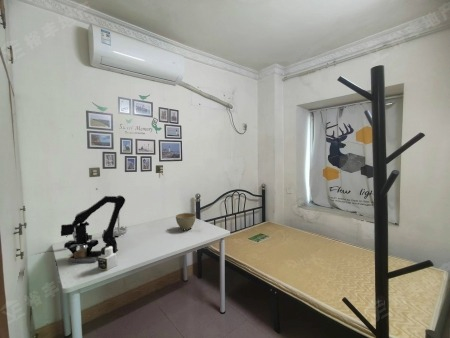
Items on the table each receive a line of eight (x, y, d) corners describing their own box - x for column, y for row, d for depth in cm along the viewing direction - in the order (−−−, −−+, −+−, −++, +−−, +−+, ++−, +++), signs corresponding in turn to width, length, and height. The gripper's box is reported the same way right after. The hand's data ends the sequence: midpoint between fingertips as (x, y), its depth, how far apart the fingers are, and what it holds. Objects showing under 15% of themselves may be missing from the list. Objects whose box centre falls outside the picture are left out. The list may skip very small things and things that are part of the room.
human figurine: (67, 250, 155) (66, 225, 154) (65, 249, 157) (64, 224, 157) (86, 245, 165) (85, 221, 164) (84, 244, 167) (82, 220, 166)
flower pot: (179, 233, 188) (179, 219, 187) (173, 227, 203) (173, 214, 203) (199, 229, 197) (198, 216, 196) (191, 224, 212) (191, 212, 212)
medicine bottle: (97, 268, 128) (96, 248, 128) (108, 263, 135) (107, 244, 134) (107, 270, 126) (106, 250, 125) (117, 265, 132) (116, 245, 132)
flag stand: (118, 238, 178) (117, 201, 177) (106, 236, 183) (105, 200, 182) (131, 233, 190) (129, 198, 189) (119, 231, 195) (118, 198, 194)
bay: (109, 250, 154) (109, 242, 153) (95, 262, 136) (95, 253, 136) (80, 251, 153) (80, 243, 153) (62, 263, 136) (62, 254, 136)
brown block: (89, 255, 145) (89, 248, 145) (84, 260, 139) (83, 252, 139) (80, 256, 145) (80, 248, 145) (74, 260, 139) (74, 252, 139)
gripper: (102, 228, 150) (103, 251, 150) (74, 229, 149) (75, 251, 150) (93, 234, 138) (94, 258, 139) (62, 235, 138) (64, 259, 139)
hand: (82, 256), depth 142 cm, fingers open, 8 cm apart
